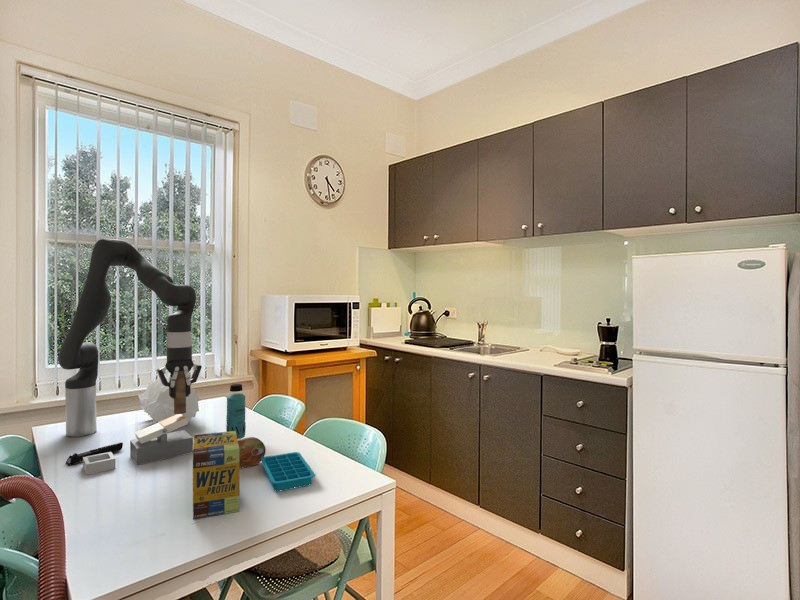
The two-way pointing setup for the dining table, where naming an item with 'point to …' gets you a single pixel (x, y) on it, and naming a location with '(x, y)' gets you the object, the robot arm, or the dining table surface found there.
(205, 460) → the protein box
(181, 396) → the wooden peg
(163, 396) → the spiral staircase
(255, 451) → the tin
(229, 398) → the beverage bottle
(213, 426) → the dining table surface
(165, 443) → the switch box
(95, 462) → the holder
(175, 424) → the rocker switch
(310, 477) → the ice cube tray
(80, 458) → the electric trimmer
